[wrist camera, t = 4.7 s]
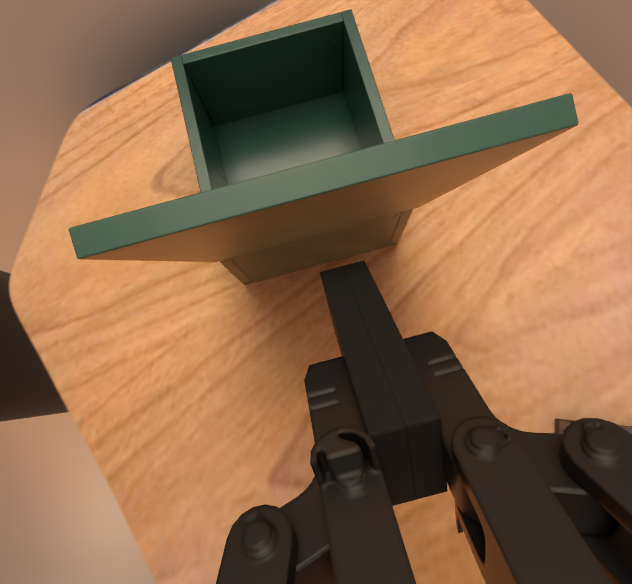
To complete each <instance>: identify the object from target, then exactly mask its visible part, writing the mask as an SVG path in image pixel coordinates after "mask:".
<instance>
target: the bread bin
mask: <svg viewBox="0 0 632 584" xmlns="http://www.w3.org/2000/svg"><path fill="white" fill-rule="evenodd" d="M171 62H172V66H173V71H174V75H175V80H176V84H177V89H178V93H179V98H180V102H181V106H182V111H183V115H184V120H185V124H186V129H187V133H188V138H189V142H190V147H191V151H192V156H193V160H194V165H195V169H196V174H197V178H198V182H199V187H200V191H201V192H205V191H209V190H212V189H216V188H220V187H224V186H227V185H231V184H235V183H238V182H242V181H246V180H250V179H253V178H257V177H261V176H264V175H268V174H272V173H276V172H279V171H283V170H287V169H290V168H294V167H298V166H302V165H305V164H309V163H313V162H316V161H320V160H324V159H328V158H331V157H335V156H339V155H342V154H346V153H350V152H354V151H357V150H361V149H365V148H368V147H372V146H376V145H380V144H383V143H387V142H391V141H394V137H393V134H392V131H391V128H390V125H389V122H388V119H387V116H386V113H385V110H384V107H383V104H382V101H381V98H380V95H379V92H378V89H377V86H376V83H375V79H374V76H373V73H372V70H371V67H370V64H369V61H368V58H367V55H366V52H365V49H364V46H363V43H362V40H361V37H360V34H359V31H358V28H357V25H356V22H355V19H354V16H353V13H352V10H351V9H350V10H347V11H343V12H341V13H340V12H339V13H336V14H332V15H328V16H325V17H321V18H317V19H314V20H310V21H306V22H302V23H299V24H295V25H291V26H288V27H284V28H280V29H276V30H273V31H269V32H265V33H262V34H258V35H254V36H250V37H247V38H243V39H239V40H236V41H232V42H228V43H225V44H221V45H217V46H213V47H210V48H206V49H202V50H199V51H195V52H191V53H187V54H184V55H182V56H181V55H180V56H176V57H172V58H171ZM412 210H413V209H411V210H407V211H403V212H400V213H396V214H392V215H389V216H385V217H381V218H377V219H374V220H370V221H366V222H363V223H359V224H355V225H351V226H348V227H344V228H340V229H337V230H333V231H329V232H325V233H322V234H318V235H314V236H310V237H307V238H303V239H299V240H296V241H292V242H288V243H284V244H281V245H277V246H273V247H270V248H266V249H262V250H258V251H255V252H251V253H247V254H244V255H240V256H236V257H232V258H229V259H225V260H221V261H220V262H221V263H222V264H223V265H224V266H225V267H226V268H227V269H228V270H229V271H230V272H231V273H232V274H233V275H234V276H235V277H236V278H237V279H238V280H240V281H241V282H242V283H243V284H244V285H246V284H250V283H254V282H257V281H261V280H265V279H269V278H272V277H276V276H280V275H283V274H287V273H291V272H295V271H298V270H302V269H306V268H309V267H313V266H317V265H321V264H324V263H328V262H332V261H335V260H339V259H343V258H347V257H350V256H354V255H358V254H362V253H365V252H369V251H373V250H376V249H380V248H384V247H388V246H391V245H395V244H398V241H399V239H400V237H401V235H402V233H403V231H404V228H405V226H406V224H407V222H408V219H409V217H410V215H411V213H412Z"/></svg>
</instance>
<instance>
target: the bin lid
mask: <svg viewBox="0 0 632 584" xmlns="http://www.w3.org/2000/svg"><path fill="white" fill-rule="evenodd" d="M577 125H578V118H577V114H576V109H575V105H574V100H573V96H572V94H571V93H569V94H565V95H562V96H558V97H554V98H550V99H547V100H543V101H539V102H536V103H532V104H528V105H524V106H521V107H517V108H513V109H510V110H506V111H502V112H498V113H495V114H491V115H487V116H484V117H480V118H476V119H472V120H469V121H465V122H461V123H458V124H454V125H450V126H446V127H443V128H439V129H435V130H432V131H428V132H424V133H420V134H417V135H413V136H409V137H406V138H402V139H398V140H394V141H391V142H387V143H383V144H380V145H376V146H372V147H368V148H365V149H361V150H357V151H354V152H350V153H346V154H342V155H339V156H335V157H331V158H328V159H324V160H320V161H316V162H313V163H309V164H305V165H302V166H298V167H294V168H290V169H287V170H283V171H279V172H276V173H272V174H268V175H264V176H261V177H257V178H253V179H250V180H246V181H242V182H238V183H235V184H231V185H227V186H224V187H220V188H216V189H212V190H209V191H205V192H201V193H198V194H194V195H190V196H186V197H183V198H179V199H175V200H172V201H168V202H164V203H160V204H157V205H153V206H149V207H146V208H142V209H138V210H134V211H131V212H127V213H123V214H120V215H116V216H112V217H108V218H105V219H101V220H97V221H94V222H90V223H86V224H82V225H79V226H75V227H71V228H69V232H70V236H71V239H72V242H73V246H74V249H75V252H76V255H77V258H78V259H94V260H142V261H190V262H218V261H221V260H225V259H229V258H232V257H236V256H240V255H244V254H247V253H251V252H255V251H258V250H262V249H266V248H270V247H273V246H277V245H281V244H284V243H288V242H292V241H296V240H299V239H303V238H307V237H310V236H314V235H318V234H322V233H325V232H329V231H333V230H337V229H340V228H344V227H348V226H351V225H355V224H359V223H363V222H366V221H370V220H374V219H377V218H381V217H385V216H389V215H392V214H396V213H400V212H403V211H407V210H411V209H415V208H418V207H420V206H422V205H424V204H426V203H428V202H430V201H432V200H434V199H436V198H438V197H439V196H441V195H443V194H445V193H447V192H449V191H451V190H453V189H455V188H457V187H459V186H461V185H463V184H465V183H467V182H468V181H470V180H472V179H474V178H476V177H478V176H480V175H482V174H484V173H486V172H488V171H490V170H492V169H494V168H496V167H497V166H499V165H501V164H503V163H505V162H507V161H509V160H511V159H513V158H515V157H517V156H519V155H521V154H523V153H525V152H526V151H528V150H530V149H532V148H534V147H536V146H538V145H540V144H542V143H544V142H546V141H548V140H550V139H552V138H554V137H555V136H557V135H559V134H561V133H563V132H565V131H567V130H569V129H571V128H573V127H575V126H577Z"/></svg>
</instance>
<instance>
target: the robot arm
mask: <svg viewBox="0 0 632 584" xmlns="http://www.w3.org/2000/svg"><path fill="white" fill-rule="evenodd" d="M320 275H321V279H322V283H323V286H324V290H325V294H326V298H327V302H328V306H329V310H330V314H331V318H332V322H333V326H334V330H335V334H336V338H337V341H338V344H339V348H340V351H341V355H342V357H338V358H334V359H331V360H327V361H323V362H319V363H316V364H312V365H309V368H308V371H307V374H306V377H305V380H304V381H305V387H306V393H307V398H308V405H309V410H310V417H311V423H312V429H313V434H314V440H315V444H314V446H313V448H312V450H311V459H310V464H311V466H312V469H313V472H314V474H315V477H314V479H313V481H312V483H311V484H310V485H309V486H308V488H307V489H306V490H305V491H304V492H303V493H301V494H300V495H299V496H298V497H296V498H295V499H293V500H292V501H290V502H289V503H287V504H285V505H284V506H282V507H281V508H278V507H276V506H270V505H261V506H257V507H253V508H251V509H250V510H248V511H246V512H245V513H243V514H242V515H241V516H240V517H239V518H238V519H237V521H236V522H235V523H234V524H233V525H232V528H231V530H230V533H229V535H228V537H227V540H226V544H225V549H224V553H223V557H222V561H221V565H220V569H219V573H218V577H217V581H216V584H416V582H415V579H414V575H413V572H412V569H411V565H410V562H409V559H408V556H407V552H406V549H405V546H404V543H403V539H402V536H401V533H400V530H399V526H398V523H397V520H396V517H395V513H394V510H393V507H392V506H393V505H397V504H401V503H405V502H408V501H412V500H416V499H420V498H423V497H427V496H431V495H435V494H438V493H442V492H446V491H447V483H448V485H449V488H450V490H451V492H452V494H453V497H454V499H455V513H456V524H457V529H458V533H461V532H463V531H464V533H465V536H466V538H467V540H468V543H469V545H470V547H471V550H472V552H473V554H474V557H475V559H476V561H477V564H478V566H479V568H480V571H481V573H482V576H483V578H484V580H485V583H486V584H632V434H631V433H630V432H628V431H627V430H625V429H623V428H622V427H620V426H618V425H616V424H615V423H612V422H609V421H605V420H602V419H596V418H583V419H580V420H577V421H573V422H571V423H570V424H569V425H568V426H567V427H566V428H565V429H564V432H563V434H553V433H531V432H523V431H520V430H517V429H513V428H511V427H509V426H507V425H506V424H504V423H503V422H501V421H500V420H498V419H497V418H496V417H495V416H494V415H493V414H492V412H491V411H490V410H489V408H488V407H487V405H486V403H485V402H484V400H483V398H482V397H481V395H480V394H479V392H478V390H477V389H476V387H475V386H474V384H473V382H472V381H471V379H470V378H469V376H468V374H467V373H466V371H465V370H464V369H463V367H462V365H461V363H460V362H459V360H458V358H456V356H455V354H454V352H453V350H452V349H451V347H450V346H449V344H448V342H447V341H446V340H444V339H443V338H441V337H440V336H438V335H437V334H435V333H434V332H428V333H424V334H420V335H417V336H413V337H409V338H405V339H403V338H402V336H401V334H400V332H399V330H398V328H397V326H396V324H395V322H394V320H393V318H392V316H391V314H390V312H389V310H388V308H387V306H386V304H385V302H384V300H383V298H382V296H381V294H380V292H379V290H378V288H377V285H376V283H375V281H374V279H373V277H372V275H371V273H370V271H369V269H368V267H367V265H366V263H365V261H360V262H356V263H353V264H349V265H345V266H341V267H338V268H334V269H330V270H326V271H323V272H320Z"/></svg>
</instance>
